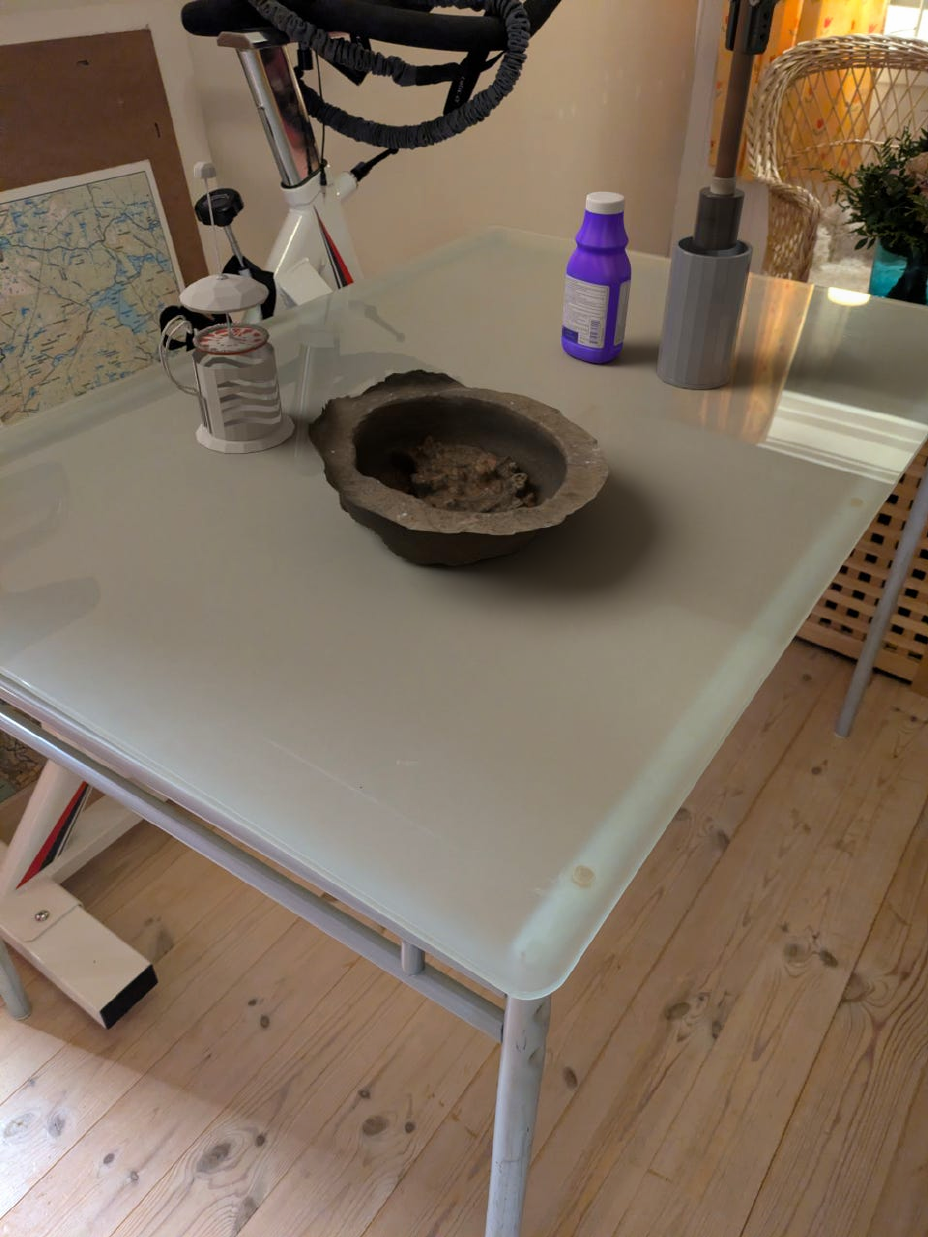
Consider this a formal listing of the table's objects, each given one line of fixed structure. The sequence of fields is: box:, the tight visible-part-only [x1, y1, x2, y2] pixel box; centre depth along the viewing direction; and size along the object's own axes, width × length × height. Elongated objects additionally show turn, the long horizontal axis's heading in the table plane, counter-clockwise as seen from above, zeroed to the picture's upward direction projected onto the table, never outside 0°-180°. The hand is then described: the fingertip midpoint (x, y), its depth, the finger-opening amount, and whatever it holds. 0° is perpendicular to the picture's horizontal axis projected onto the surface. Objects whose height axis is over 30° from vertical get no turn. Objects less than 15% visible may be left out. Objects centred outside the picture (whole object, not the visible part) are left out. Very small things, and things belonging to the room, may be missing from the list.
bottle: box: [560, 191, 632, 364], centre depth 105 cm, size 7×6×17 cm
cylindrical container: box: [656, 234, 754, 390], centre depth 102 cm, size 8×8×14 cm
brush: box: [692, 0, 756, 250], centre depth 90 cm, size 4×4×22 cm
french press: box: [158, 160, 296, 454], centre depth 88 cm, size 10×12×25 cm
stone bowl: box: [306, 368, 609, 567], centre depth 80 cm, size 25×25×9 cm
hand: (744, 51), depth 87 cm, fingers closed on brush, 2 cm apart
